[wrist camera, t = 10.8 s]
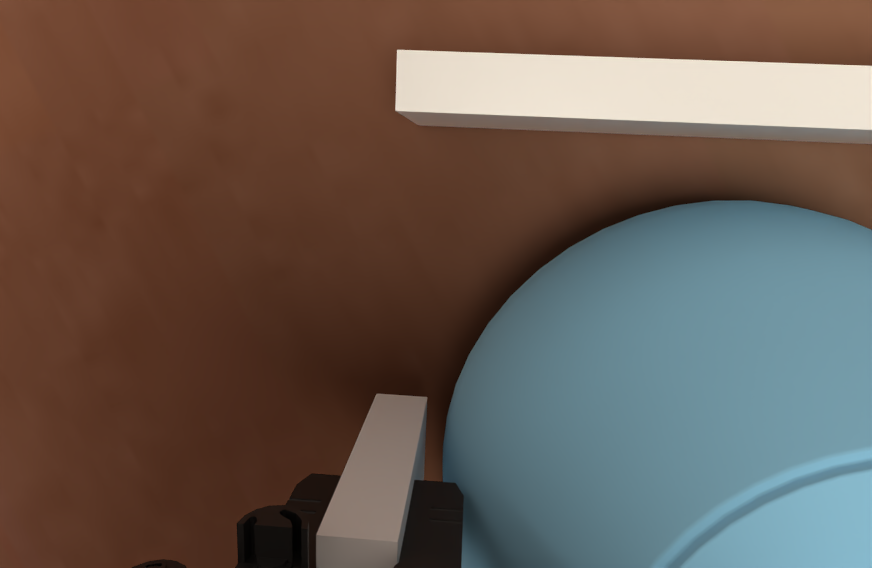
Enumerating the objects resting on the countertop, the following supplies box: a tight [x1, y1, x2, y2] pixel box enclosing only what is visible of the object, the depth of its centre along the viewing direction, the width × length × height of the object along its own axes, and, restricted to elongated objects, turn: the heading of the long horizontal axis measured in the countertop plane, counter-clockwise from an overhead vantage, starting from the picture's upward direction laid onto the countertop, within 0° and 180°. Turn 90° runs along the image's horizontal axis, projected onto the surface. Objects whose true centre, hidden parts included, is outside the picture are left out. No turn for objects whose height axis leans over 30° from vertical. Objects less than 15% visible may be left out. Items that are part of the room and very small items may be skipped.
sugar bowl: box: [443, 200, 872, 568], centre depth 13 cm, size 15×15×12 cm
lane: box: [395, 50, 872, 144], centre depth 16 cm, size 21×20×5 cm
